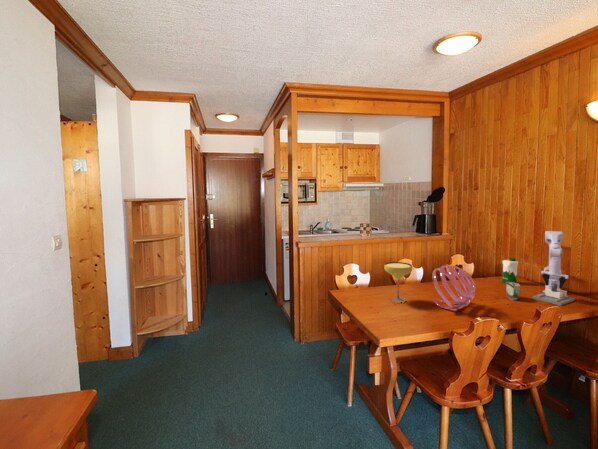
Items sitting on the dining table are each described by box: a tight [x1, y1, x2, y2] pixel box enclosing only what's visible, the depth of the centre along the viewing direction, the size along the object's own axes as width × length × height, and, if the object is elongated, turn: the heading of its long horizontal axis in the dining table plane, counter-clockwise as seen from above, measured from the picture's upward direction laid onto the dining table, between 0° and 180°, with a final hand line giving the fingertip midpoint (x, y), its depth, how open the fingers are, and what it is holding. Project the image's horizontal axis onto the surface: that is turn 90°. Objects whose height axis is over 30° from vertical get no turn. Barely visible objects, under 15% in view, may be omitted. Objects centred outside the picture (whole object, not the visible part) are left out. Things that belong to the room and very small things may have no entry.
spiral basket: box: [431, 264, 476, 311], centre depth 198 cm, size 28×28×27 cm
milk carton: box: [501, 257, 519, 284], centre depth 245 cm, size 9×9×20 cm
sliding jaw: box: [544, 283, 563, 299], centre depth 207 cm, size 4×8×9 cm, turn 27°
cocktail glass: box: [383, 261, 413, 301], centre depth 211 cm, size 18×18×25 cm
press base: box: [532, 289, 576, 306], centre depth 207 cm, size 18×16×6 cm
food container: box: [505, 282, 521, 302], centre depth 211 cm, size 12×6×10 cm, turn 168°
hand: (553, 286), depth 207 cm, fingers open, 7 cm apart
